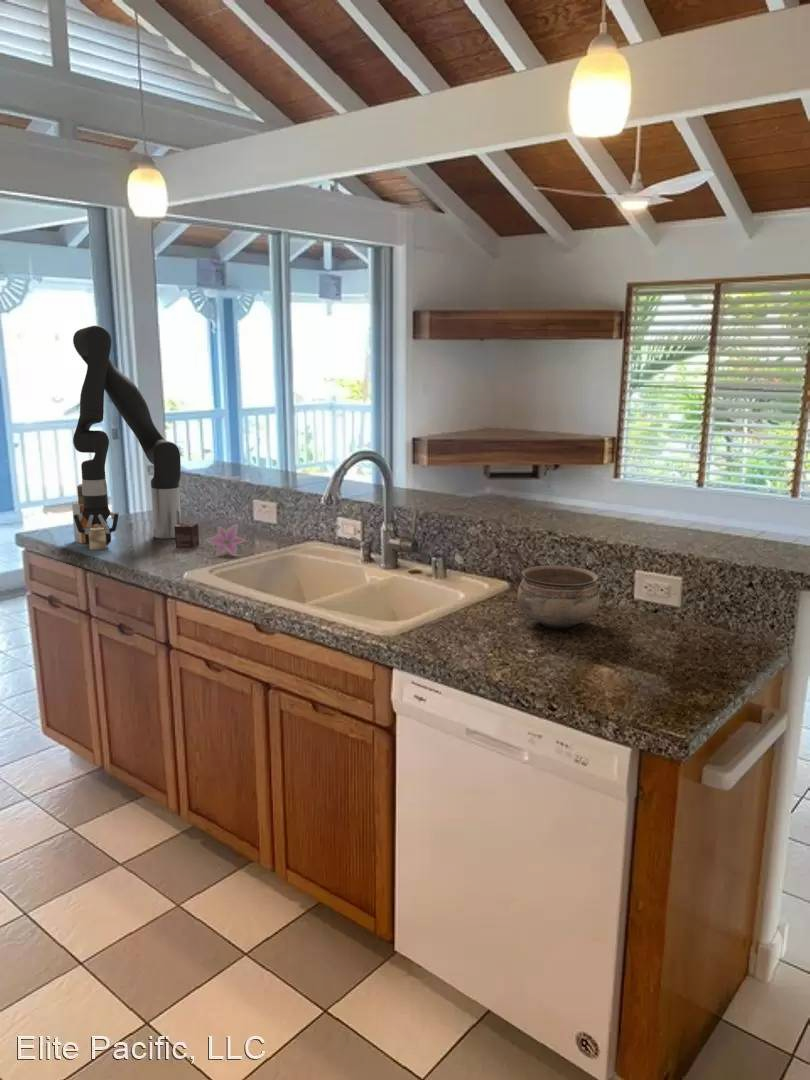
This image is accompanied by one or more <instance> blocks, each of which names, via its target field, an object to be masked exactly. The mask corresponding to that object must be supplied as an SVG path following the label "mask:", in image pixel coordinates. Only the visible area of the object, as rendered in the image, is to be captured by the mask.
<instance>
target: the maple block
mask: <svg viewBox="0 0 810 1080" xmlns="http://www.w3.org/2000/svg"><path fill="white" fill-rule="evenodd" d="M88 532H89V550H106V549H108V546H109V545H107V544H106V531H105V529H104V528H90V530H89V531H88Z"/></svg>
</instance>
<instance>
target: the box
mask: <svg viewBox="0 0 810 1080" xmlns="http://www.w3.org/2000/svg"><path fill="white" fill-rule="evenodd" d="M199 532H200V531H199V523H197V522H196V523H195V522H193V523H192V522H181V523H180V524H178V525H176V526H175V538H174V539H175V541H174V542H175V548H176V549H177V548H178V549H179V548H180V549H182V548H183V549H184V548H185V549H194V548H196V547H197V546H198V545H200V533H199Z"/></svg>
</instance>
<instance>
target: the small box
mask: <svg viewBox="0 0 810 1080" xmlns="http://www.w3.org/2000/svg"><path fill="white" fill-rule="evenodd" d="M71 507H72V521H73V522H72V523H73V534H74V541H75V542H76V543H79V544H82V545H83V544H86V539H85V534H84V533H80V532H79V531H78V528H77V525H76V522H75V519H74V515H75V514H80V513H82V512H83V509H84V508H83V504H78V502H74V503H71ZM81 523H82V526H83V528H84V529H86V526H87V523H88V521H87V520H86V519H85V518H84V517H83V516H82V519H81ZM91 528H103V526H102V524H95V525H92V526H91Z"/></svg>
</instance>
